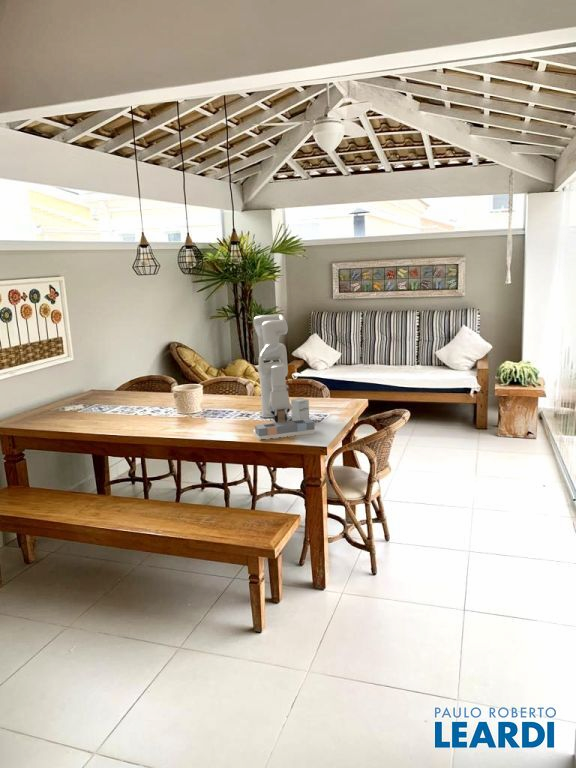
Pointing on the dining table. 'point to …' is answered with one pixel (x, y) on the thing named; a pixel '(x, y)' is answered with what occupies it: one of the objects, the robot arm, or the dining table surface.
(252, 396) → the dining table surface
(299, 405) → the supplement box
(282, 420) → the walnut plug
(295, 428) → the port board
